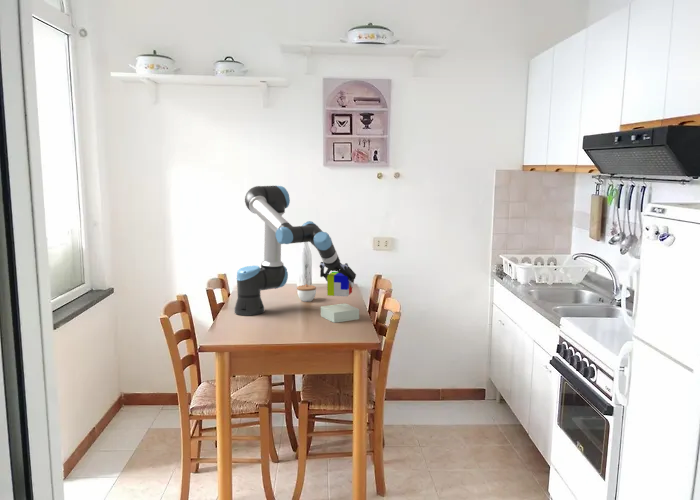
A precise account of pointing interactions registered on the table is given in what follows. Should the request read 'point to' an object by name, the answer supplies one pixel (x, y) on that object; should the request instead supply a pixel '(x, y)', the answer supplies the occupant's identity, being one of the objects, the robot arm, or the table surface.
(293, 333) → the table surface
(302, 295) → the lidded jar
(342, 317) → the pedestal
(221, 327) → the table surface
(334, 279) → the puzzle toy
